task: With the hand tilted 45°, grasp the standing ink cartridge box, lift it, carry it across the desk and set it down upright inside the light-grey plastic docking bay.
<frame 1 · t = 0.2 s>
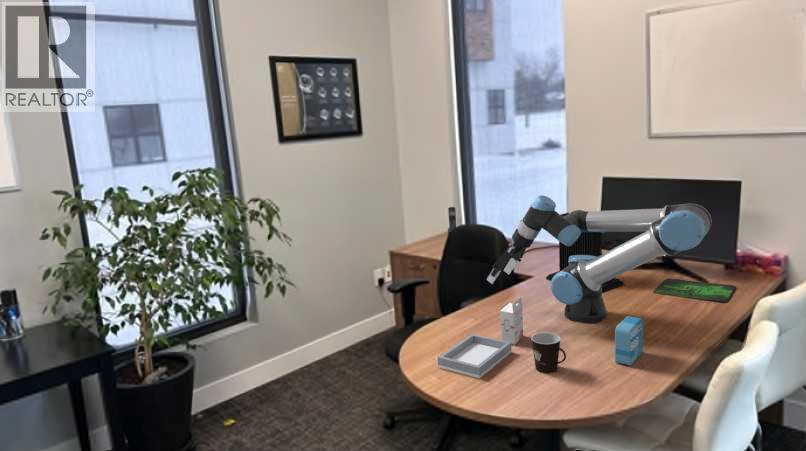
hand: (498, 276, 218), 15 cm above the table, tool tilted 35°, fingers open, 13 cm apart
ink cartridge box: (512, 339, 199), on the table
ribbed black tower: (583, 281, 254), on the table
mouse mat: (693, 291, 233), on the table
docking bay: (475, 359, 185), on the table
coffee mug: (548, 371, 174), on the table
data package: (628, 358, 179), on the table
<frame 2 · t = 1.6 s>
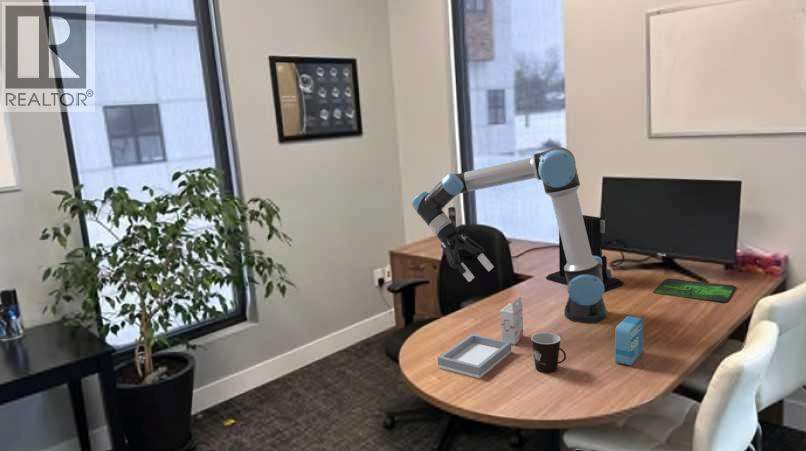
hand: (481, 274, 200), 22 cm above the table, tool tilted 45°, fingers open, 13 cm apart
nothing on the table moved.
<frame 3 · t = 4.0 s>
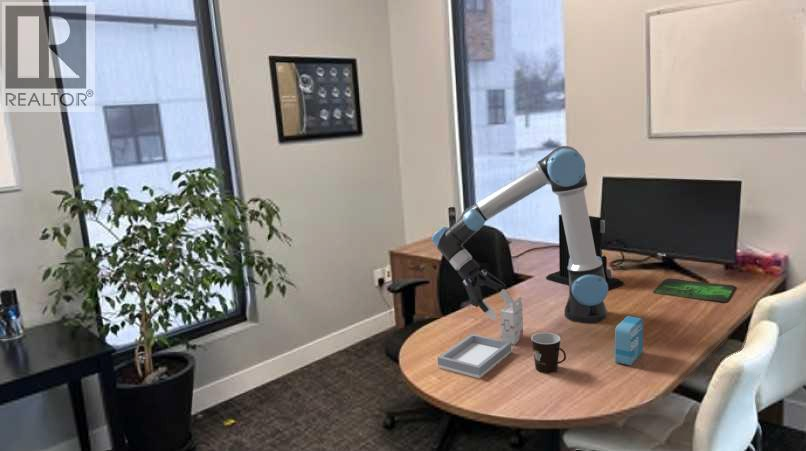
hand: (504, 311, 198), 10 cm above the table, tool tilted 45°, fingers open, 13 cm apart
nothing on the table moved.
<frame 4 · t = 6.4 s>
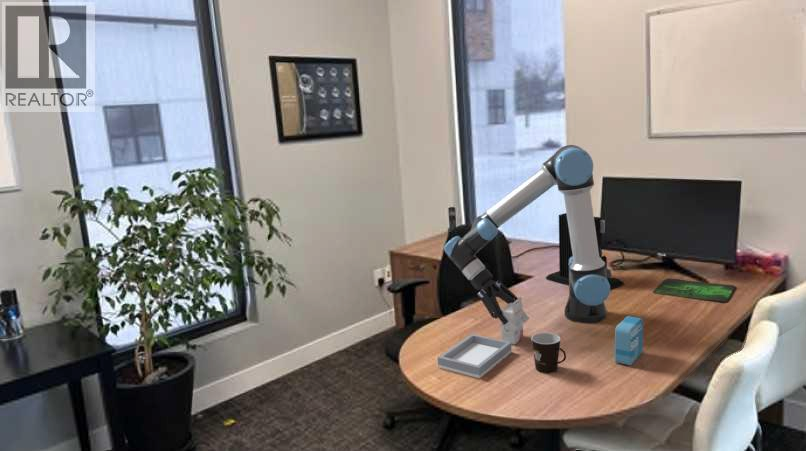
hand: (520, 325, 195), 6 cm above the table, tool tilted 45°, fingers closed on ink cartridge box, 9 cm apart
ink cartridge box: (512, 339, 199), on the table, touching gripper
everything else where it was.
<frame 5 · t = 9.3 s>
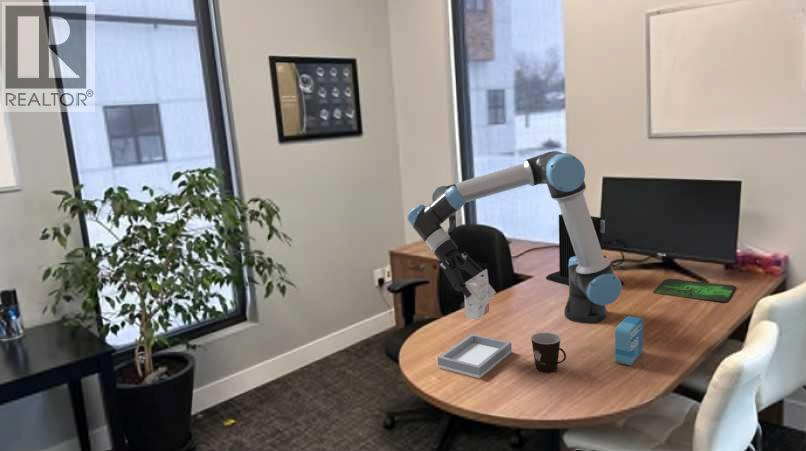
hand: (485, 299, 182), 20 cm above the table, tool tilted 45°, fingers closed on ink cartridge box, 9 cm apart
ink cartridge box: (477, 315, 185), point 14 cm above the table, touching gripper
everything else where it was.
when the fingers open (8 cm above the table, at t = 12.6 s): ink cartridge box stays where it is, resting on docking bay.
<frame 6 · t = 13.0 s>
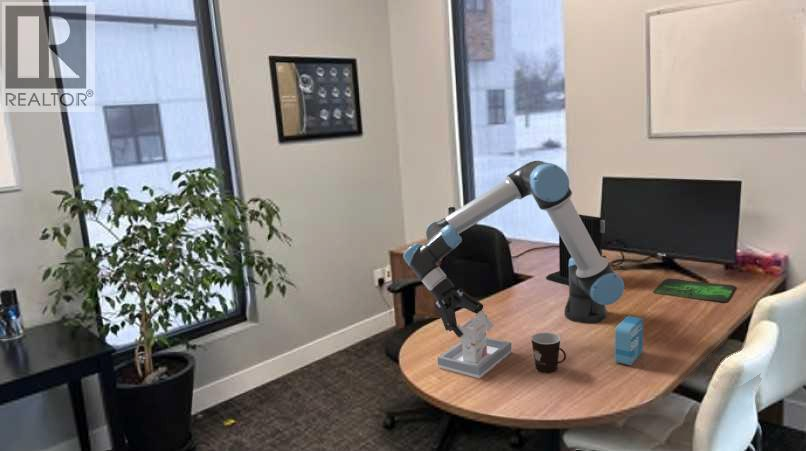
hand: (480, 336, 182), 9 cm above the table, tool tilted 45°, fingers open, 13 cm apart
ink cartridge box: (474, 357, 185), point 1 cm above the table, touching docking bay
everything else where it was.
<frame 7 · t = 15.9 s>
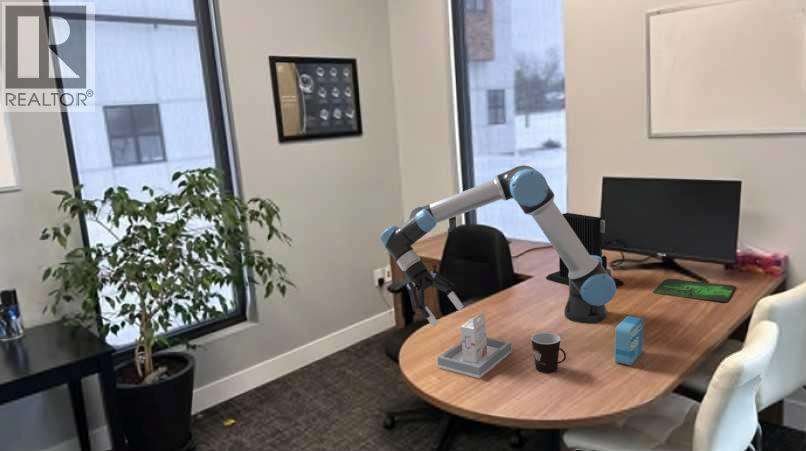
hand: (448, 316, 192), 12 cm above the table, tool tilted 40°, fingers open, 13 cm apart
nothing on the table moved.
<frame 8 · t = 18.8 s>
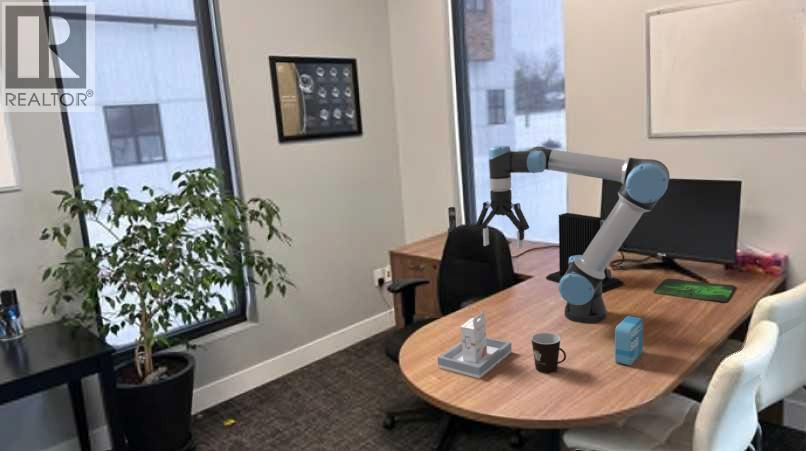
hand: (502, 246, 209), 29 cm above the table, tool pointing down, fingers open, 13 cm apart
nothing on the table moved.
at the end: ink cartridge box inside the target area on the docking bay (0.2 cm from its centre), point 0.8 cm above the docking bay's base; ink cartridge box tilted 0°; the gripper is holding nothing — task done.
